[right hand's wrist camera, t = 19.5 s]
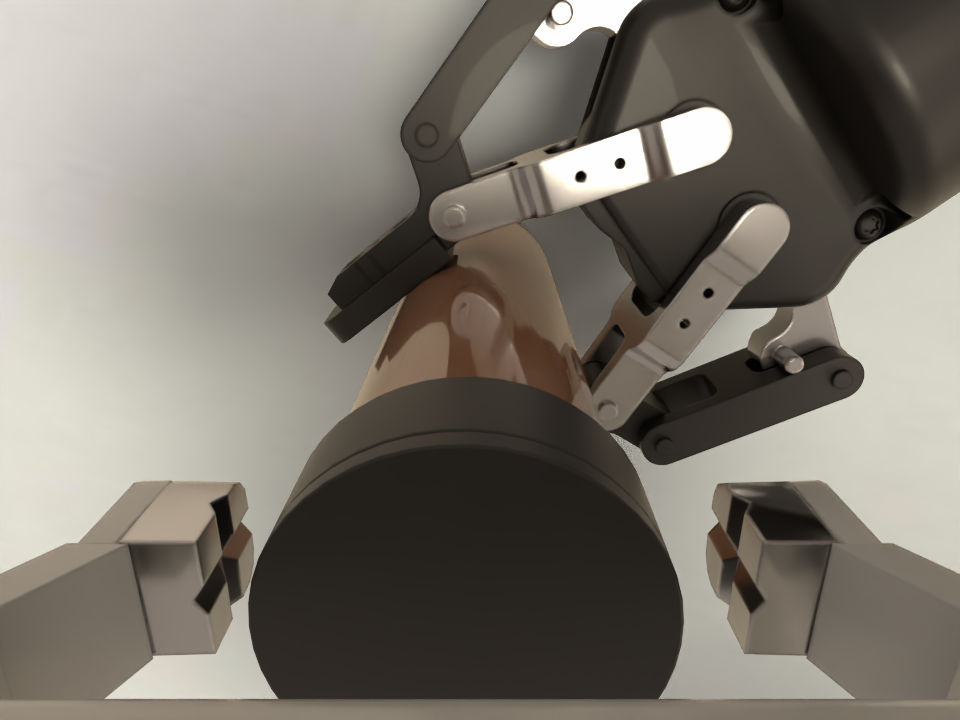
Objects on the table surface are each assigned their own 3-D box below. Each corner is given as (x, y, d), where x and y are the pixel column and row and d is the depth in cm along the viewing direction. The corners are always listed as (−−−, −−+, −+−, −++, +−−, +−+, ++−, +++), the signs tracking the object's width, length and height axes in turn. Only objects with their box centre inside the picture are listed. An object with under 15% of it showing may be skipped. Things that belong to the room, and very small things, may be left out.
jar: (388, 278, 24) (211, 589, 9) (486, 184, 23) (474, 361, 8) (479, 369, 25) (460, 778, 10) (577, 285, 24) (722, 609, 9)
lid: (721, 549, 10) (772, 650, 8) (462, 721, 11) (457, 841, 10) (479, 296, 9) (476, 349, 7) (218, 527, 10) (158, 624, 8)
